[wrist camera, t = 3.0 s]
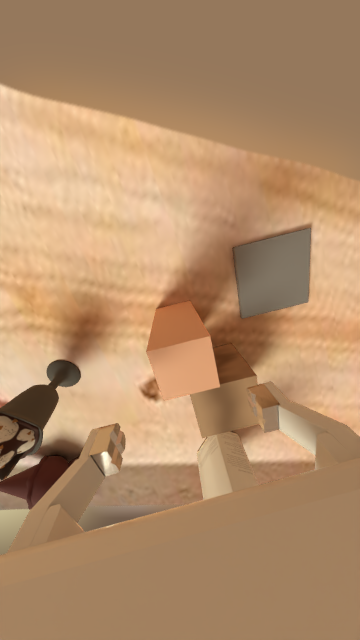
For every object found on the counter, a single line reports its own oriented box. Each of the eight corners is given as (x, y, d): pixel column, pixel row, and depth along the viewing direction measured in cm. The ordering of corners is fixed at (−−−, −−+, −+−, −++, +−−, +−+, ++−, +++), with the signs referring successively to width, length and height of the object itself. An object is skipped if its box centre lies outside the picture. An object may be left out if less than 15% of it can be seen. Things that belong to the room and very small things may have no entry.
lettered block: (231, 341, 27) (256, 373, 19) (237, 382, 29) (261, 423, 22) (182, 353, 27) (188, 390, 19) (193, 392, 29) (202, 438, 22)
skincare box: (219, 457, 36) (252, 582, 22) (194, 451, 35) (212, 580, 21) (239, 431, 34) (290, 552, 20) (213, 424, 32) (248, 547, 19)
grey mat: (307, 228, 22) (310, 227, 21) (305, 301, 25) (308, 302, 25) (232, 247, 22) (234, 247, 21) (240, 317, 25) (242, 318, 25)
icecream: (-11, 522, 27) (87, 505, 30) (-40, 513, 23) (77, 495, 26) (16, 467, 33) (97, 457, 36) (-2, 453, 29) (90, 443, 32)
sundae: (51, 347, 25) (-103, 463, 11) (93, 368, 26) (8, 492, 12) (33, 378, 26) (-122, 515, 12) (74, 396, 28) (-20, 534, 14)
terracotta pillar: (189, 300, 24) (210, 335, 13) (196, 331, 26) (220, 386, 14) (156, 308, 24) (146, 351, 13) (165, 339, 26) (163, 400, 14)
